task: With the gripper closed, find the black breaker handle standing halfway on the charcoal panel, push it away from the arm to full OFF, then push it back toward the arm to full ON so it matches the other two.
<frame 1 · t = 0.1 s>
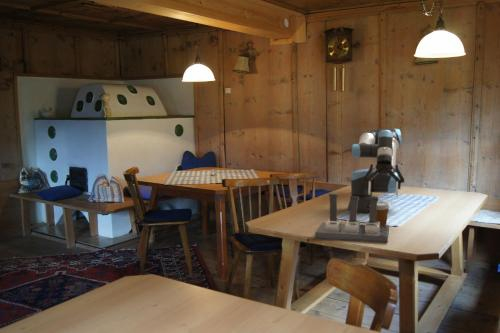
hand: (383, 194, 240), 15 cm above the table, tool tilted 35°, fingers open, 13 cm apart
middle handle: (353, 209, 225), point 12 cm above the table, hinge at -40.0°
disposable coffee cup: (379, 227, 236), on the table
tripped handle: (333, 207, 224), point 13 cm above the table, hinge at 0.0°
breaker panel: (352, 235, 223), on the table
end handle: (373, 210, 222), point 12 cm above the table, hinge at -40.0°
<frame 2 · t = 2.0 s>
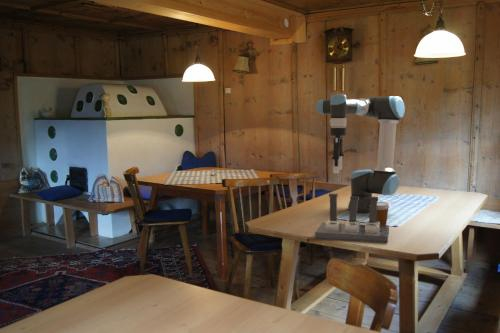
hand: (337, 171, 229), 29 cm above the table, tool pointing down, fingers open, 13 cm apart
nothing on the table moved.
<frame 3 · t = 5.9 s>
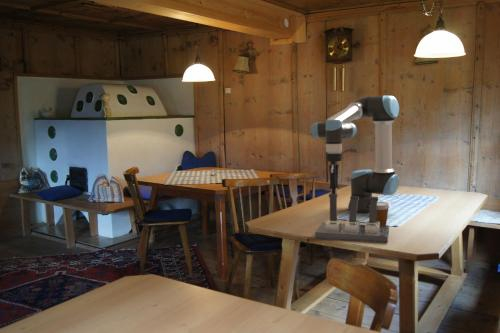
hand: (334, 201, 226), 15 cm above the table, tool pointing down, fingers closed
tripped handle: (333, 207, 224), point 13 cm above the table, hinge at 2.5°, touching gripper
everything else where it was.
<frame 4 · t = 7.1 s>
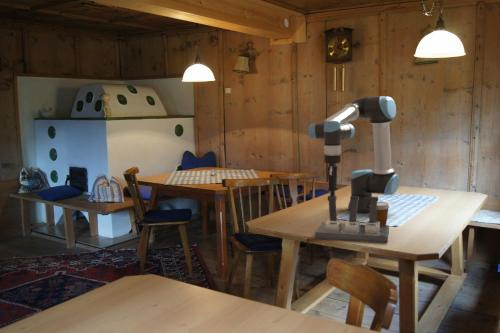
hand: (332, 204, 223), 15 cm above the table, tool pointing down, fingers closed
tripped handle: (332, 209, 222), point 13 cm above the table, hinge at 20.4°, touching gripper
everything else where it was.
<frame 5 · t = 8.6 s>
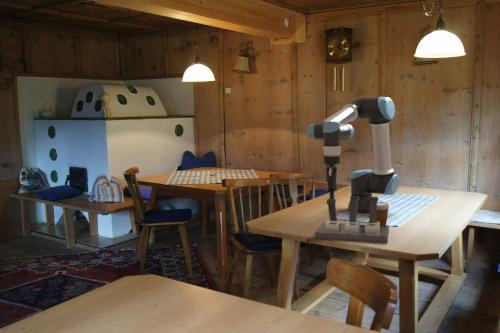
hand: (332, 205, 221), 15 cm above the table, tool pointing down, fingers closed
tripped handle: (332, 210, 221), point 12 cm above the table, hinge at 33.2°, touching gripper
everything else where it was.
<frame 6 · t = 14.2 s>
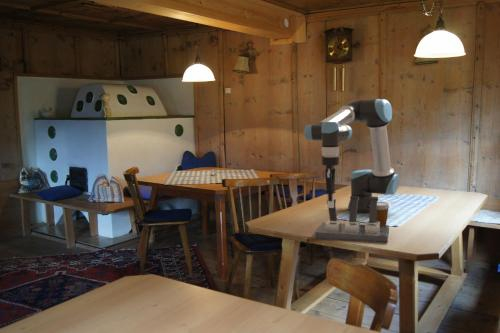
hand: (330, 207, 216), 15 cm above the table, tool pointing down, fingers closed
nothing on the table moved.
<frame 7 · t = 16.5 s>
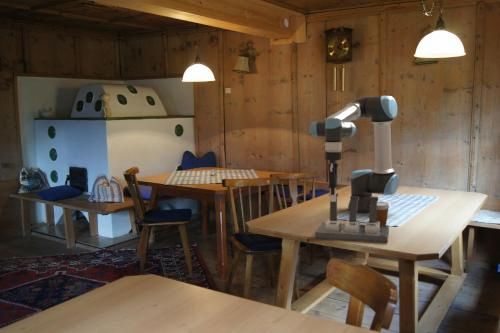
hand: (332, 201, 223), 16 cm above the table, tool pointing down, fingers closed
tripped handle: (333, 207, 225), point 13 cm above the table, hinge at -4.4°, touching gripper
everything else where it was.
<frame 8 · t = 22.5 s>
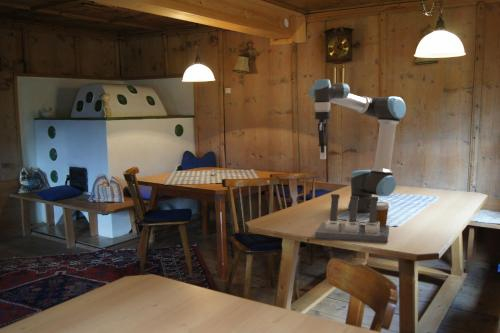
hand: (322, 158, 236), 34 cm above the table, tool pointing down, fingers closed
tripped handle: (334, 207, 227), point 12 cm above the table, hinge at -32.0°
everything else where it was.
at the end: tripped handle at -32° (first picture: +0°); middle handle at -40° (first picture: -40°); end handle at -40° (first picture: -40°) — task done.
